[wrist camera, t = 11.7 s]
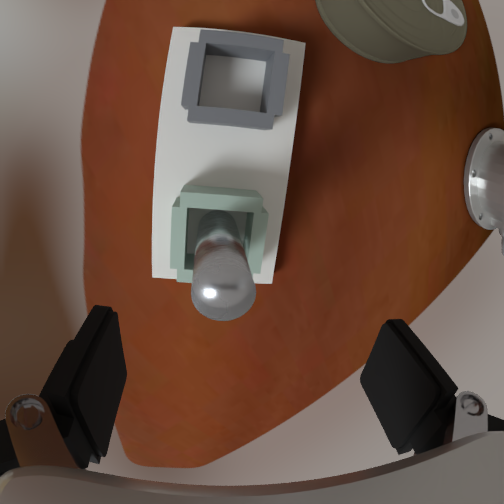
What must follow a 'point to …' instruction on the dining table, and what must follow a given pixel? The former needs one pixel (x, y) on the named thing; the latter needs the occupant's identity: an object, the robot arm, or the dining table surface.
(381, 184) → the dining table surface
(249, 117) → the tool board
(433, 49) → the can
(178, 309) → the dining table surface
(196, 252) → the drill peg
